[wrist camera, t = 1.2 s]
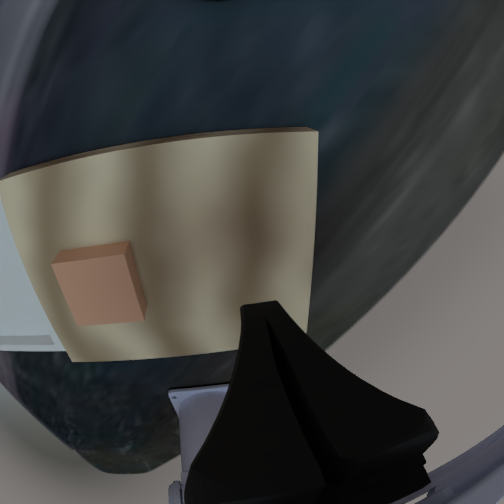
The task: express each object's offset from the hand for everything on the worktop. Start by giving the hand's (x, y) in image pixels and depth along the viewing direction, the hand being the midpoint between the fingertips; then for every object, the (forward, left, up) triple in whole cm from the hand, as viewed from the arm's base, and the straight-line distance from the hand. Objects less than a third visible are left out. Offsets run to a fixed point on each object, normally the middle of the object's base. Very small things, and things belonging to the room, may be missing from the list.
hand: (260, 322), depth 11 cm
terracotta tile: (-3, +9, -8) cm, 13 cm away
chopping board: (-3, +5, -10) cm, 12 cm away
